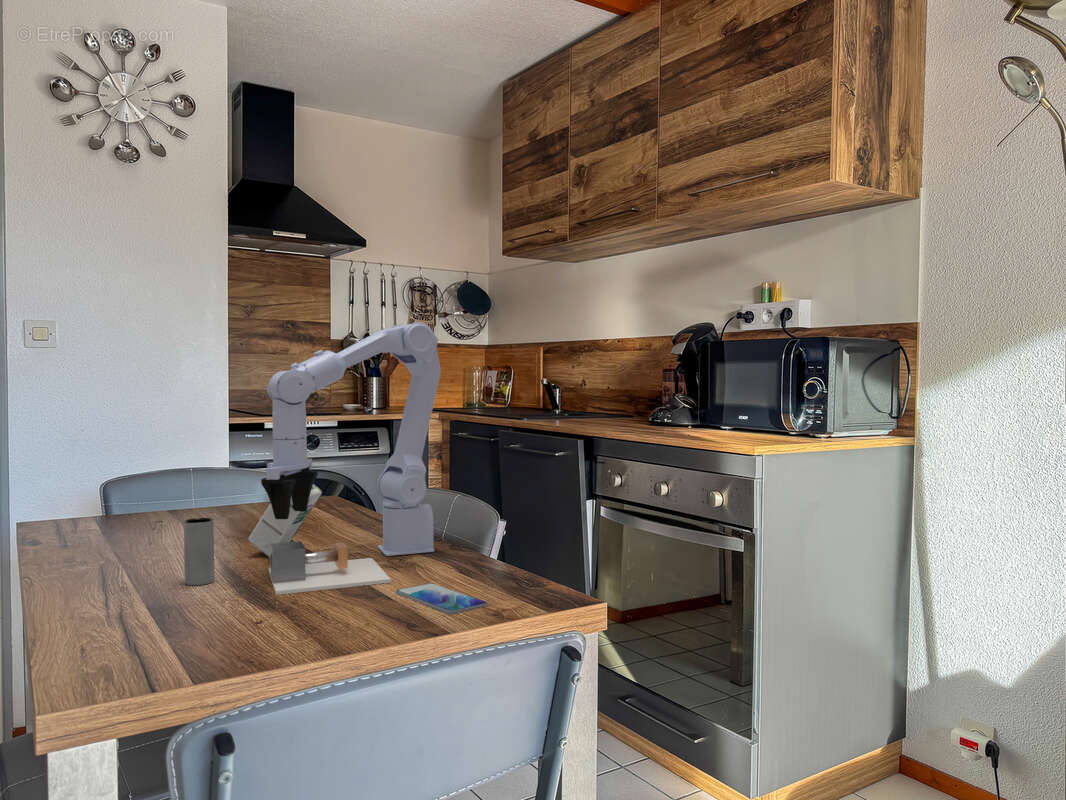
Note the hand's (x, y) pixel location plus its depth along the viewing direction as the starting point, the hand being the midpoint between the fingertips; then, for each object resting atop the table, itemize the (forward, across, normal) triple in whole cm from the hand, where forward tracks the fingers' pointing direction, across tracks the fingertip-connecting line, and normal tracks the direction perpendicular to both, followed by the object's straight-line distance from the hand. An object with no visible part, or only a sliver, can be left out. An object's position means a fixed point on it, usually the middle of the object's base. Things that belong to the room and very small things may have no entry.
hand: (291, 514), depth 137 cm
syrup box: (+8, -9, -9) cm, 15 cm away
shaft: (+8, +6, +7) cm, 12 cm away
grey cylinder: (+10, +11, -11) cm, 18 cm away
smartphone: (+10, +16, +31) cm, 36 cm away
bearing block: (+9, +9, +3) cm, 13 cm away
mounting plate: (+9, +6, +9) cm, 14 cm away
